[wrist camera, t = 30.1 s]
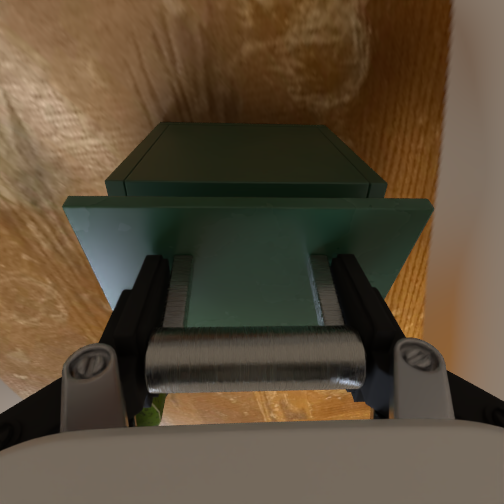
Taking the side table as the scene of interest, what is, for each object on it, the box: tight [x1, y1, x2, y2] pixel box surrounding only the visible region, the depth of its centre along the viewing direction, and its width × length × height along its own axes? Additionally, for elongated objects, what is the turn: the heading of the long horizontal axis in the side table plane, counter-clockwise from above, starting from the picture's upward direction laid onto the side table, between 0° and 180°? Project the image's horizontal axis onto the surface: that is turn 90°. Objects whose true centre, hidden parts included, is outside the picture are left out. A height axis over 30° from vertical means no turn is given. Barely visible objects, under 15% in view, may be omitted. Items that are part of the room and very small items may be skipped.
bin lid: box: [62, 196, 434, 393], centre depth 14 cm, size 14×12×5 cm
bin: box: [105, 122, 387, 198], centre depth 22 cm, size 13×12×12 cm
